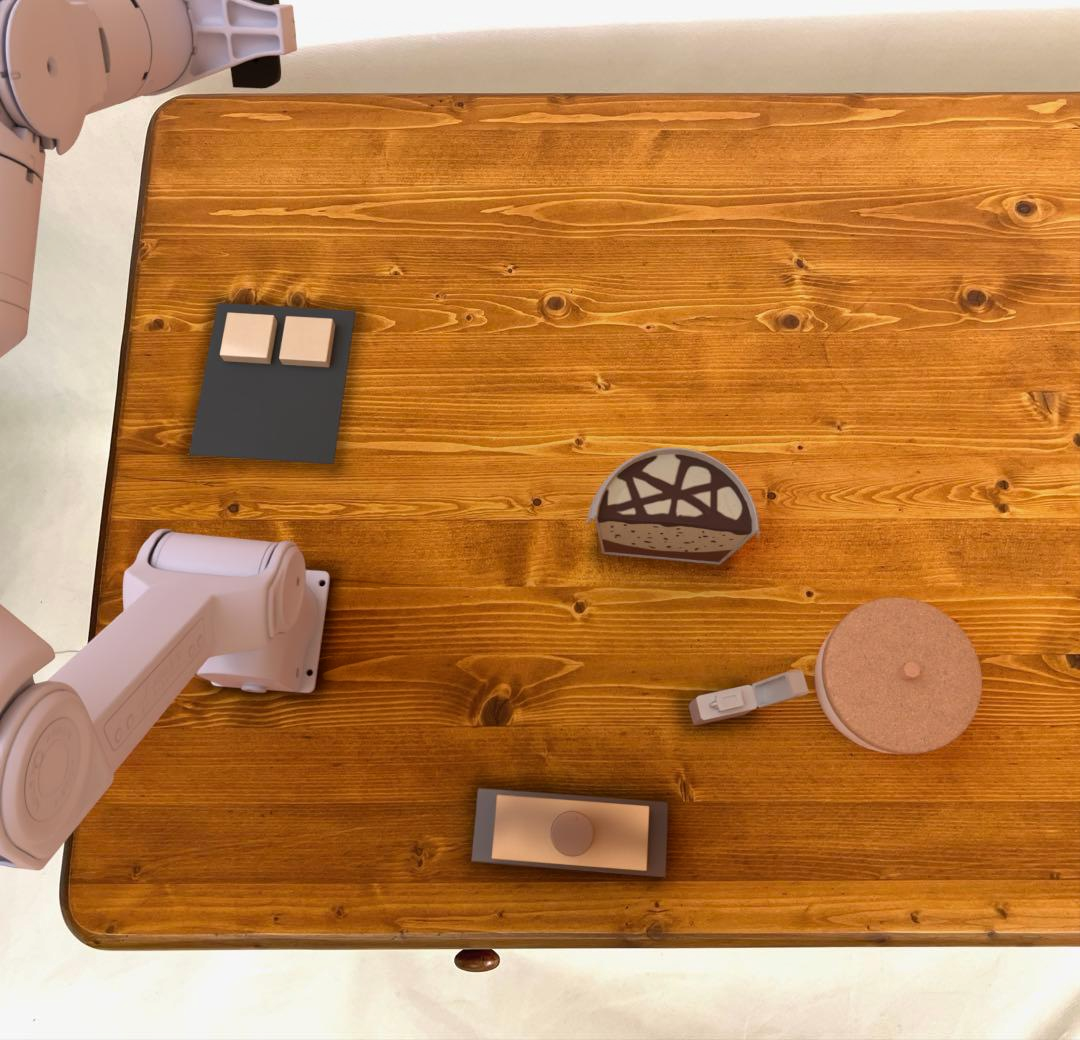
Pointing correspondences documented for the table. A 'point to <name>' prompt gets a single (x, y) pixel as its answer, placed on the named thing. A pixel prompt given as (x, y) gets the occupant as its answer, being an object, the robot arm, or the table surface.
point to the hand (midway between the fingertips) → (206, 11)
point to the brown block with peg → (571, 832)
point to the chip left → (248, 338)
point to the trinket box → (898, 677)
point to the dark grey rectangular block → (656, 808)
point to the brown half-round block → (674, 508)
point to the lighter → (747, 697)
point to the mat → (272, 396)
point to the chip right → (307, 341)
